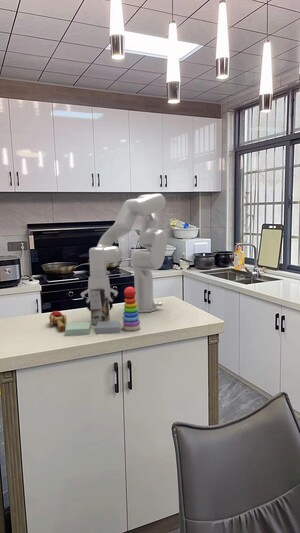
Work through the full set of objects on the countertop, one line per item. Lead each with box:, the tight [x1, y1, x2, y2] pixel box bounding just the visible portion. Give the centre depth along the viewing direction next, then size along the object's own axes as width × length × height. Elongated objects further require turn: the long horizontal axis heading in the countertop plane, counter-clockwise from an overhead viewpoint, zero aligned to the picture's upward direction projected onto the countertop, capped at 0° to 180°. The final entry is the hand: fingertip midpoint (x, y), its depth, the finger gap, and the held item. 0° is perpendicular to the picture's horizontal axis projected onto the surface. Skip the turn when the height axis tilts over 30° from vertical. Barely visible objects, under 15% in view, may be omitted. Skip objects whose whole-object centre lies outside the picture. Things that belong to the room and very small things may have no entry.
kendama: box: [49, 310, 67, 333], centre depth 172 cm, size 8×6×18 cm
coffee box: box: [90, 289, 111, 326], centre depth 176 cm, size 9×6×16 cm
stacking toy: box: [122, 286, 141, 332], centre depth 164 cm, size 8×8×19 cm
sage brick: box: [64, 321, 92, 337], centre depth 163 cm, size 10×10×3 cm
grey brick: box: [95, 320, 121, 335], centre depth 164 cm, size 10×10×3 cm
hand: (100, 310), depth 176 cm, fingers open, 9 cm apart
